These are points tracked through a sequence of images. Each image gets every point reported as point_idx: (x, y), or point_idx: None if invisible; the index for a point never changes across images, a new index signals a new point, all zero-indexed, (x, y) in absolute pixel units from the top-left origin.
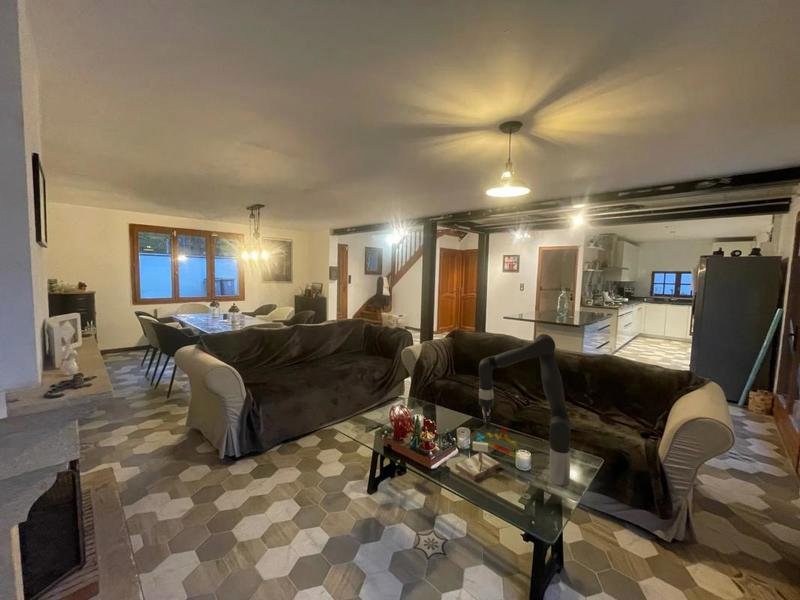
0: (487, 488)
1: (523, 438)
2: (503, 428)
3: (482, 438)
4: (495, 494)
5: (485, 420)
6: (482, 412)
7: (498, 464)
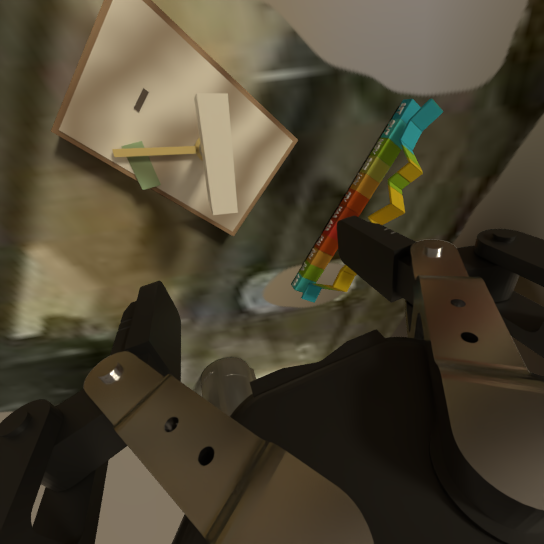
0: (46, 203)
1: None
2: None
3: (401, 135)
4: (26, 241)
5: (93, 401)
6: (418, 282)
7: (224, 230)
